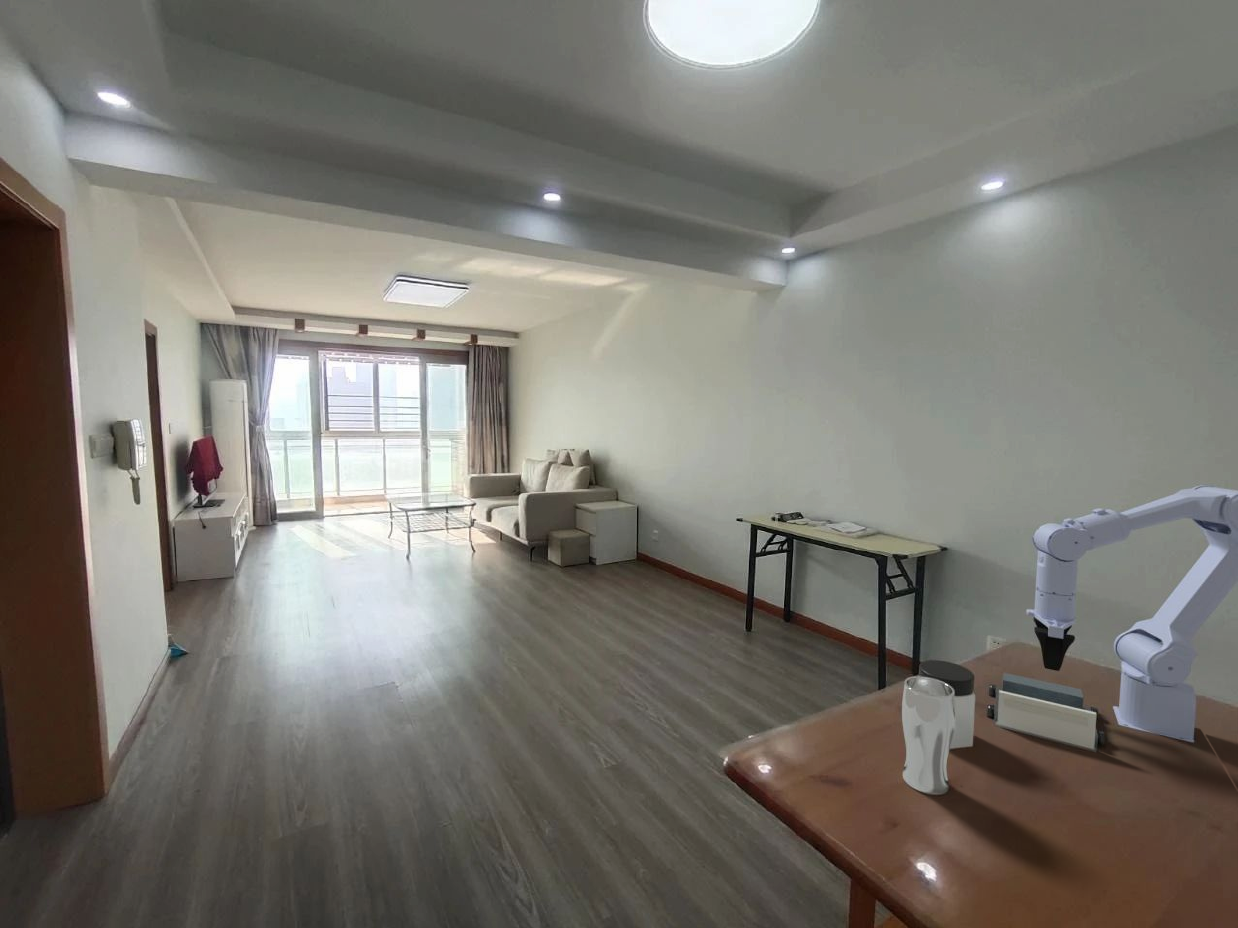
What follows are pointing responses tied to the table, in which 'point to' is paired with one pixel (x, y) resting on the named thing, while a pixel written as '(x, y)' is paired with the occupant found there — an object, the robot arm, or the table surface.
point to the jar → (956, 696)
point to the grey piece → (1042, 696)
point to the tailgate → (1047, 720)
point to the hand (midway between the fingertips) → (1051, 663)
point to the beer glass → (927, 733)
